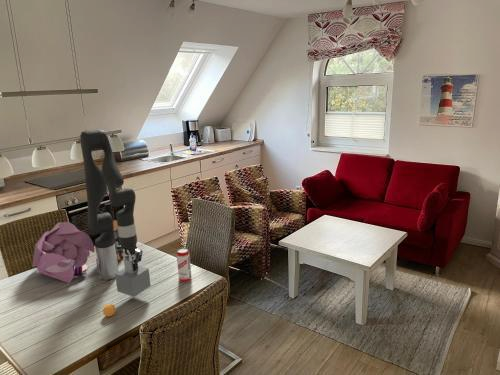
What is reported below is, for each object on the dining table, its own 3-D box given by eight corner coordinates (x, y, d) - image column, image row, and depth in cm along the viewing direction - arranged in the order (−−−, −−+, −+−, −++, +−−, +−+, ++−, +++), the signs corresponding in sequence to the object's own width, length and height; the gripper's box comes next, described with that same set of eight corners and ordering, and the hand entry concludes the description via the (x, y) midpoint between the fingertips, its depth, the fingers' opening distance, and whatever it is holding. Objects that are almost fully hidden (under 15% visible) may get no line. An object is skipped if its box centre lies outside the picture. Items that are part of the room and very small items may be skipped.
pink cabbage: (105, 273, 207) (108, 223, 204) (80, 288, 184) (83, 231, 181) (46, 264, 212) (49, 215, 209) (14, 278, 188) (17, 222, 185)
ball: (101, 317, 161) (99, 306, 159) (110, 310, 165) (109, 300, 163) (109, 320, 158) (107, 309, 157) (118, 313, 162) (117, 303, 161)
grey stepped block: (117, 291, 170) (113, 261, 166) (134, 281, 179) (130, 252, 175) (134, 296, 165) (129, 266, 161) (150, 285, 174) (147, 256, 170)
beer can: (189, 283, 185) (186, 253, 180) (176, 282, 186) (174, 252, 182) (193, 277, 191) (191, 248, 186) (181, 276, 192) (179, 247, 188)
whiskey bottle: (128, 255, 217) (121, 201, 208) (115, 262, 209) (108, 207, 200) (114, 252, 221) (106, 199, 213) (101, 259, 213) (93, 205, 204)
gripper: (108, 233, 165) (114, 269, 170) (132, 239, 158) (137, 276, 163) (122, 228, 172) (126, 262, 176) (145, 233, 165) (149, 269, 169)
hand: (131, 269), depth 170 cm, fingers closed on grey stepped block, 4 cm apart
